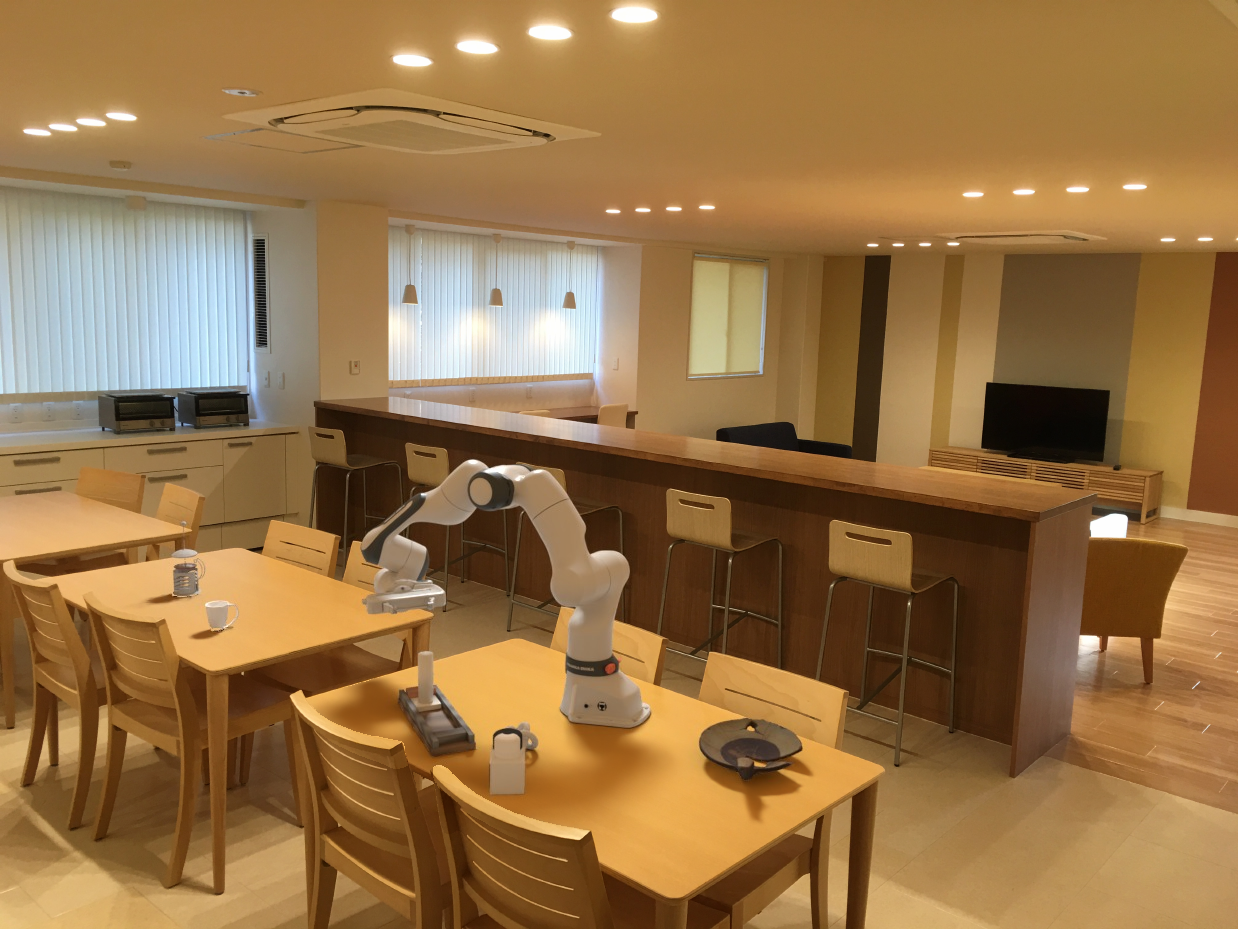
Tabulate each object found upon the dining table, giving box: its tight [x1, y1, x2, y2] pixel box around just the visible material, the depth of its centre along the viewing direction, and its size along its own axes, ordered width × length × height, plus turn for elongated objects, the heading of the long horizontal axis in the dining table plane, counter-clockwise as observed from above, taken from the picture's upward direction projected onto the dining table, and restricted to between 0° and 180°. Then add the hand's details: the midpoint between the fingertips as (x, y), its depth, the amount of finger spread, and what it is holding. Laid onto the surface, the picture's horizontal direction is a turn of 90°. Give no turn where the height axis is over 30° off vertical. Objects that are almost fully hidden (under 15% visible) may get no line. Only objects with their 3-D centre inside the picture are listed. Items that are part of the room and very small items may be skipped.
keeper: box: [411, 650, 441, 712], centre depth 235 cm, size 6×6×13 cm
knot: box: [505, 721, 539, 751], centre depth 216 cm, size 8×8×6 cm
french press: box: [171, 521, 206, 596], centre depth 327 cm, size 10×12×25 cm
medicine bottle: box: [488, 727, 526, 796], centre depth 199 cm, size 7×7×12 cm
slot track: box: [397, 684, 477, 757], centre depth 228 cm, size 32×10×4 cm, turn 26°
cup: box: [204, 600, 240, 632], centre depth 293 cm, size 7×10×8 cm
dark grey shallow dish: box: [698, 717, 803, 782], centre depth 211 cm, size 22×30×8 cm
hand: (413, 608), depth 243 cm, fingers open, 8 cm apart
